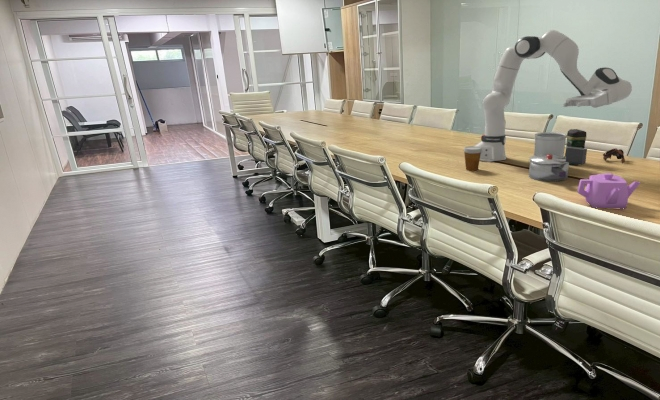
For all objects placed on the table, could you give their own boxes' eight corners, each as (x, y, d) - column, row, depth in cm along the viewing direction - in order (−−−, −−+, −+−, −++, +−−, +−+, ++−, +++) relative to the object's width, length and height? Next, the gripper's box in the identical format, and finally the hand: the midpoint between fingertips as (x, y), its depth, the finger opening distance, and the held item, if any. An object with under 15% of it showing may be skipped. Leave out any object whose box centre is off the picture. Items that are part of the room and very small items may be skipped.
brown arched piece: (622, 165, 224) (614, 152, 223) (604, 170, 232) (597, 157, 232) (632, 156, 229) (625, 142, 229) (615, 161, 237) (607, 148, 237)
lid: (521, 160, 211) (522, 145, 209) (543, 155, 219) (544, 140, 217) (572, 169, 190) (573, 152, 188) (594, 162, 199) (596, 146, 196)
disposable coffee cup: (481, 167, 236) (482, 146, 233) (481, 171, 228) (482, 149, 224) (463, 167, 240) (463, 146, 236) (462, 171, 231) (463, 149, 227)
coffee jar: (585, 165, 227) (589, 130, 222) (570, 166, 227) (574, 131, 222) (576, 161, 236) (580, 127, 231) (561, 162, 237) (565, 128, 231)
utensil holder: (565, 170, 219) (568, 136, 214) (533, 170, 225) (536, 136, 219) (561, 164, 233) (564, 132, 227) (531, 163, 238) (533, 132, 232)
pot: (522, 171, 224) (523, 156, 221) (557, 170, 221) (558, 155, 218) (541, 187, 195) (542, 170, 192) (581, 186, 192) (583, 169, 189)
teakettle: (595, 194, 180) (599, 166, 177) (639, 204, 166) (644, 174, 162) (570, 203, 173) (574, 173, 169) (614, 214, 158) (619, 182, 155)
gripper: (580, 91, 209) (555, 99, 208) (613, 89, 190) (585, 97, 188) (582, 104, 211) (556, 111, 210) (614, 103, 191) (587, 111, 190)
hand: (570, 105), depth 199 cm, fingers open, 8 cm apart
